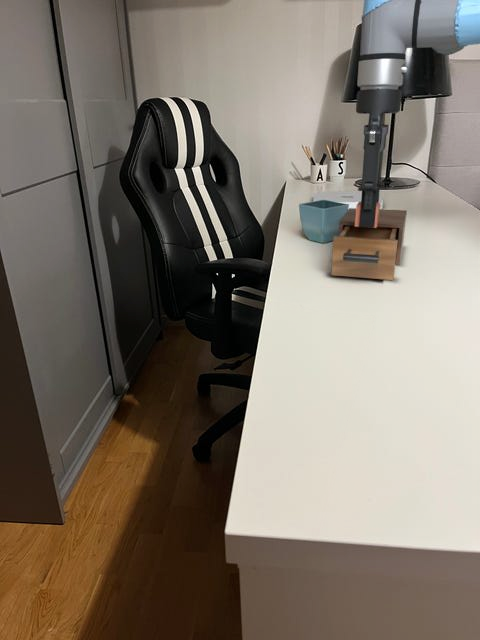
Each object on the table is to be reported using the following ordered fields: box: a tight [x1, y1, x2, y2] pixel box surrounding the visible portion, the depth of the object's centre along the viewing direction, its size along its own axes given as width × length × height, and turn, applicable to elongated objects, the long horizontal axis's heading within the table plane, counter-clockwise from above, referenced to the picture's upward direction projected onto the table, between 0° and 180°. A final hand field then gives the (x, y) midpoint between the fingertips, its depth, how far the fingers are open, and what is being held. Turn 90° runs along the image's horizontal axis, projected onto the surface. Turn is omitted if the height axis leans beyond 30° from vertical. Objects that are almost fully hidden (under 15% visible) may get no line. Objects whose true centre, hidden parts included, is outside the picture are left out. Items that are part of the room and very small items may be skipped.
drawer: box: [331, 225, 398, 281], centre depth 96 cm, size 19×11×7 cm, turn 161°
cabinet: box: [338, 208, 408, 266], centre depth 108 cm, size 15×13×9 cm
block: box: [355, 202, 380, 228], centre depth 95 cm, size 4×4×4 cm
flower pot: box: [298, 200, 349, 244], centre depth 122 cm, size 9×9×9 cm
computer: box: [312, 190, 384, 210], centre depth 167 cm, size 22×22×3 cm
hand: (368, 223), depth 95 cm, fingers closed on block, 4 cm apart
